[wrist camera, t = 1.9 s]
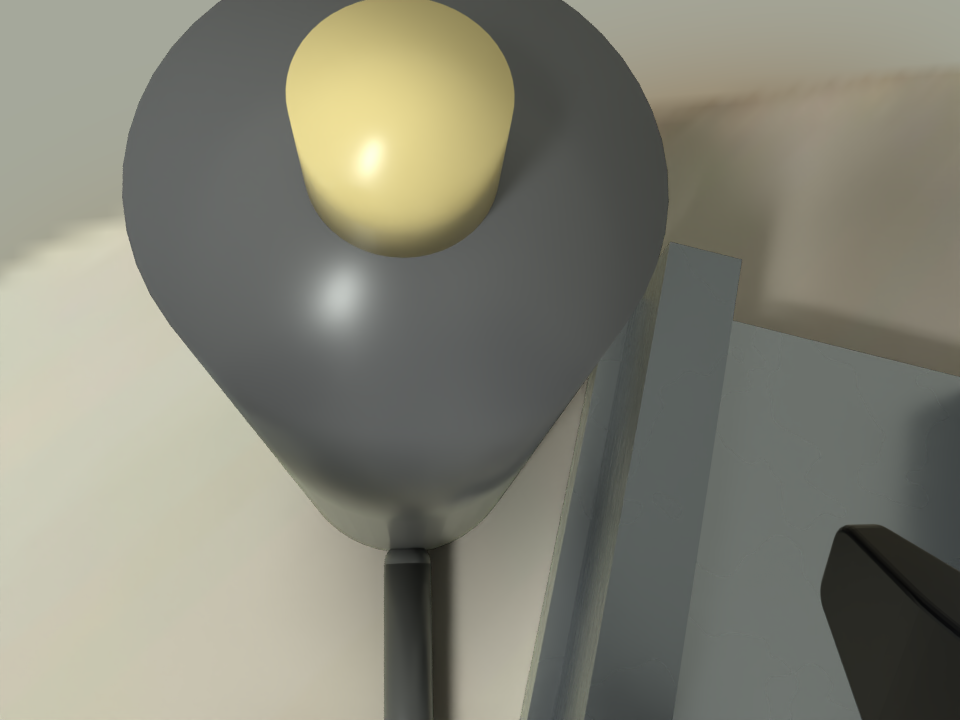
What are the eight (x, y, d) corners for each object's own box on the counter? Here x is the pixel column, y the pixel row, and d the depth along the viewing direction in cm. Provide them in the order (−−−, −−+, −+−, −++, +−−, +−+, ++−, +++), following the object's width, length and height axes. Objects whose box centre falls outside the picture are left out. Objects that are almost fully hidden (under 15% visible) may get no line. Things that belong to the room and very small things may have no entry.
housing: (1017, 909, 18) (1181, 985, 14) (506, 784, 18) (533, 828, 14) (1033, 412, 21) (1169, 365, 17) (603, 305, 21) (646, 235, 17)
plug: (534, 893, 17) (915, 1711, 4) (283, 907, 17) (-145, 1870, 4) (509, 338, 21) (677, -144, 8) (300, 339, 20) (103, -169, 7)
